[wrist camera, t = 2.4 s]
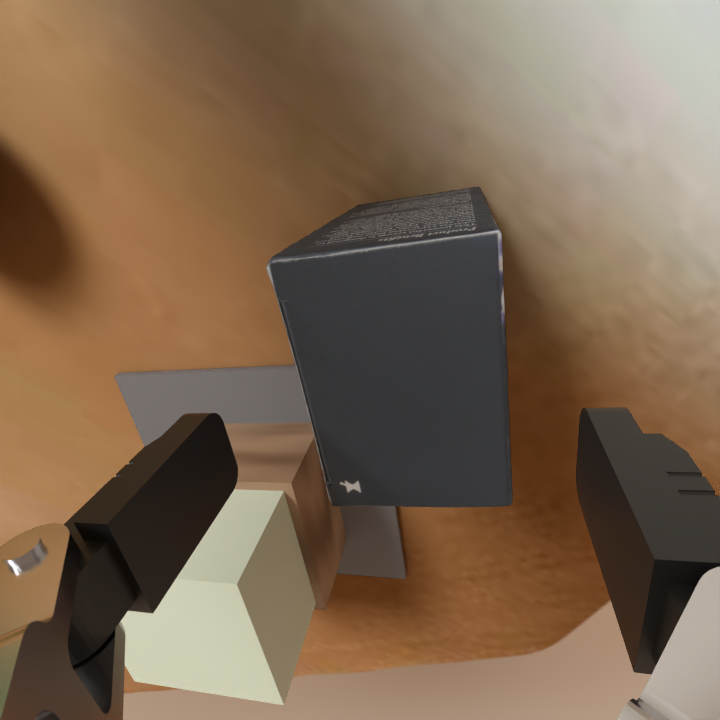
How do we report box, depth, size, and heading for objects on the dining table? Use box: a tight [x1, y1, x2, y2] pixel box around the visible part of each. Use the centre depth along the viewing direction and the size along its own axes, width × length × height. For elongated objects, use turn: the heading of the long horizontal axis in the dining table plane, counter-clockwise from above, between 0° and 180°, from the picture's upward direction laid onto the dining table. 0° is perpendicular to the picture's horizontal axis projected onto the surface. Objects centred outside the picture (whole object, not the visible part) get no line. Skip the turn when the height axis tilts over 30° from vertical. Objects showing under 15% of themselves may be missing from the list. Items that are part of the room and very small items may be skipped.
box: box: [266, 187, 513, 507], centre depth 16 cm, size 8×6×11 cm
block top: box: [121, 489, 316, 705], centre depth 21 cm, size 8×8×5 cm
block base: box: [224, 423, 347, 610], centre depth 26 cm, size 9×9×5 cm
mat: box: [114, 365, 406, 579], centre depth 28 cm, size 16×16×1 cm
